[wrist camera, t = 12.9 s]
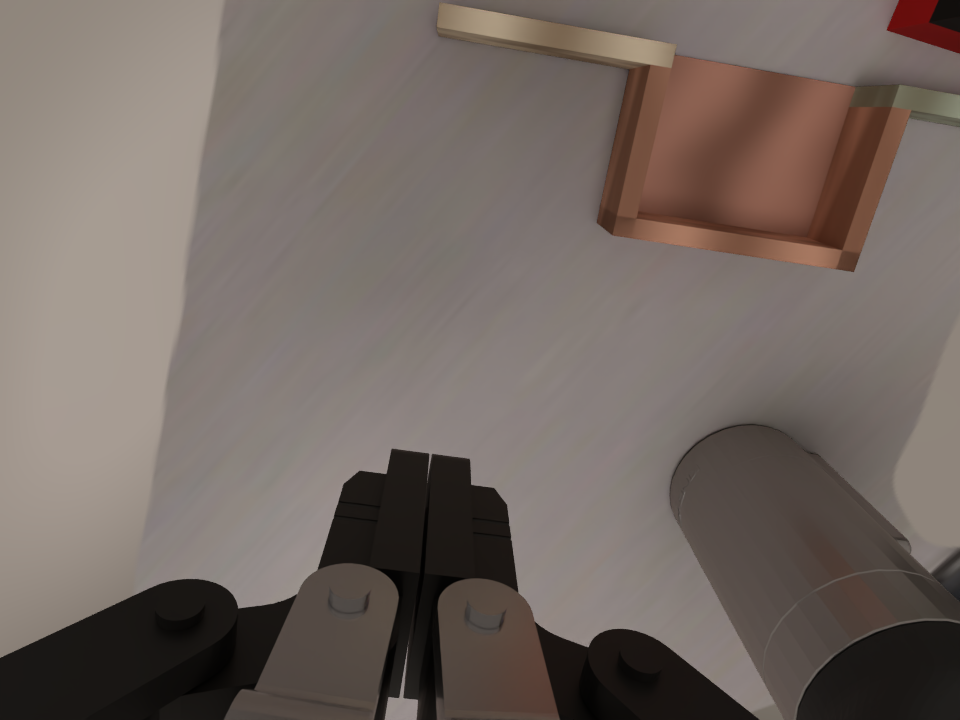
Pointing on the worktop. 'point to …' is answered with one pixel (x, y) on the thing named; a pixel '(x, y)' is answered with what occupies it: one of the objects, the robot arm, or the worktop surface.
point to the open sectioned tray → (730, 144)
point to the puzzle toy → (929, 22)
